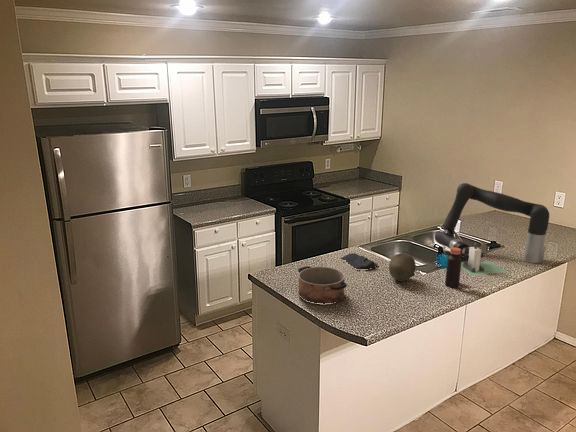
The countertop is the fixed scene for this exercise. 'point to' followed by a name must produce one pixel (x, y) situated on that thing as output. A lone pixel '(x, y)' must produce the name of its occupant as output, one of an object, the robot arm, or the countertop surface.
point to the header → (472, 268)
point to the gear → (442, 261)
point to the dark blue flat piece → (359, 261)
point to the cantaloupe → (402, 266)
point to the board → (486, 269)
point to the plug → (474, 257)
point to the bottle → (453, 268)
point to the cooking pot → (321, 284)
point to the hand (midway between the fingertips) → (475, 256)
